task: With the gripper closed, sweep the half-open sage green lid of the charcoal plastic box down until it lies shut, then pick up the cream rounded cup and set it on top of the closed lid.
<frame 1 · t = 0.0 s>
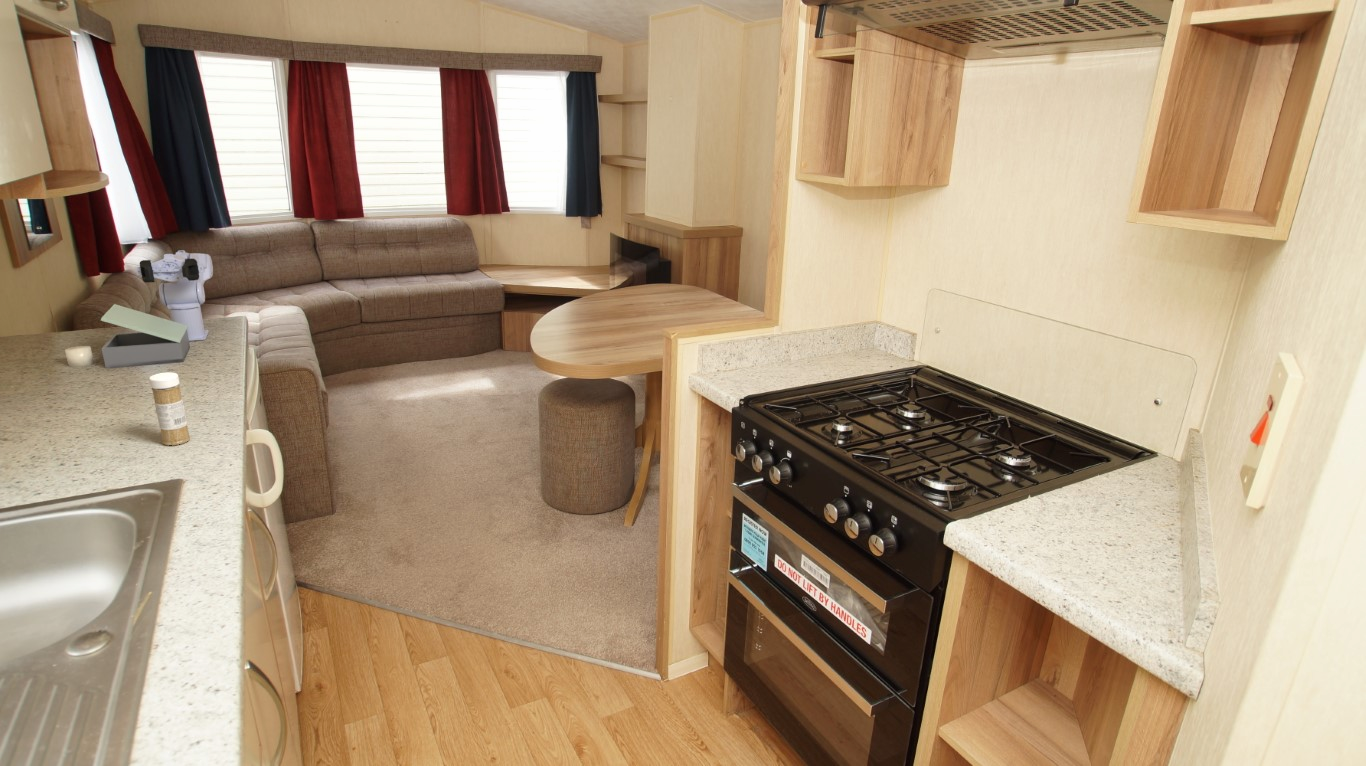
hand: (165, 273, 186), 22 cm above the worktop, fingers open, 7 cm apart
lid: (146, 323, 189), point 9 cm above the worktop, hinge at 25.0°
sprinkles bottle: (176, 442, 144), on the worktop
cream rounded cup: (81, 364, 185), on the worktop
box: (150, 357, 192), on the worktop
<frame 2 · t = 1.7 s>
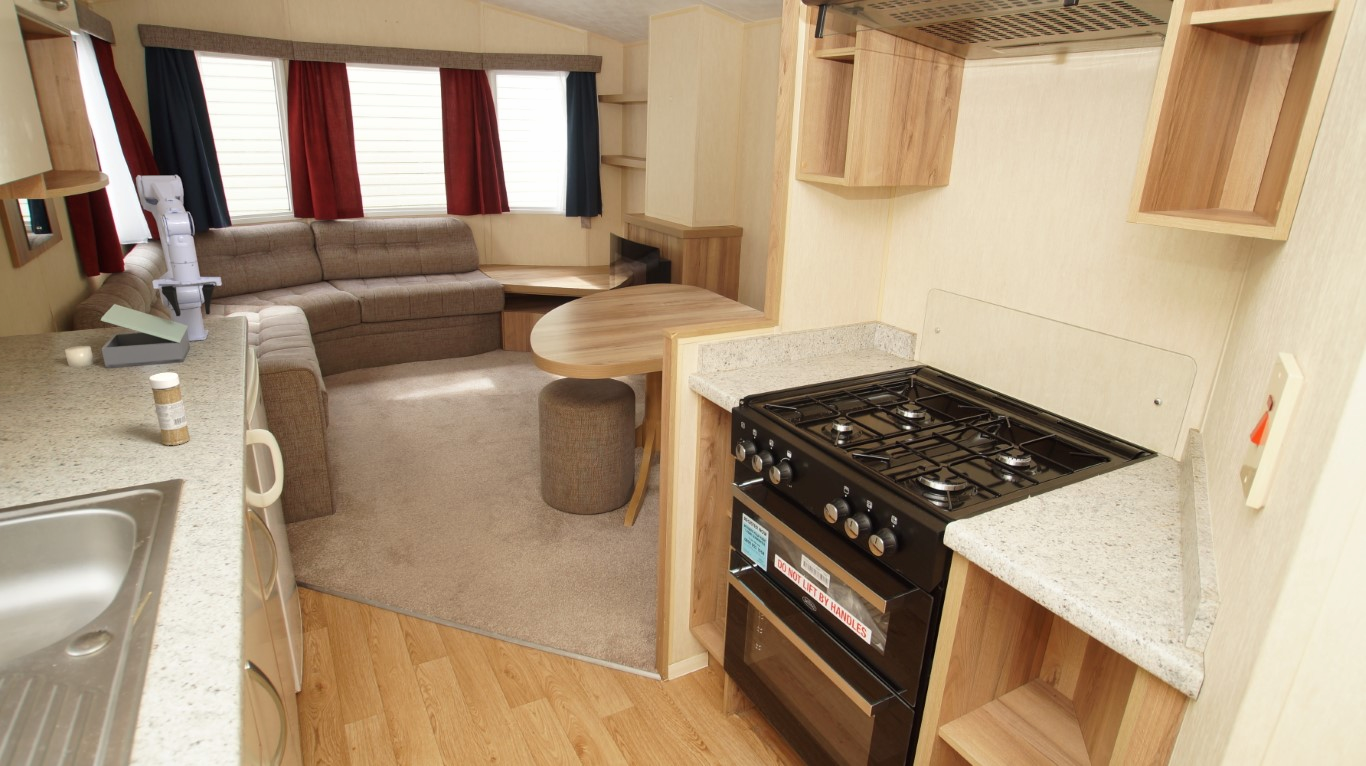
hand: (193, 314, 193), 10 cm above the worktop, fingers open, 6 cm apart
nothing on the worktop moved.
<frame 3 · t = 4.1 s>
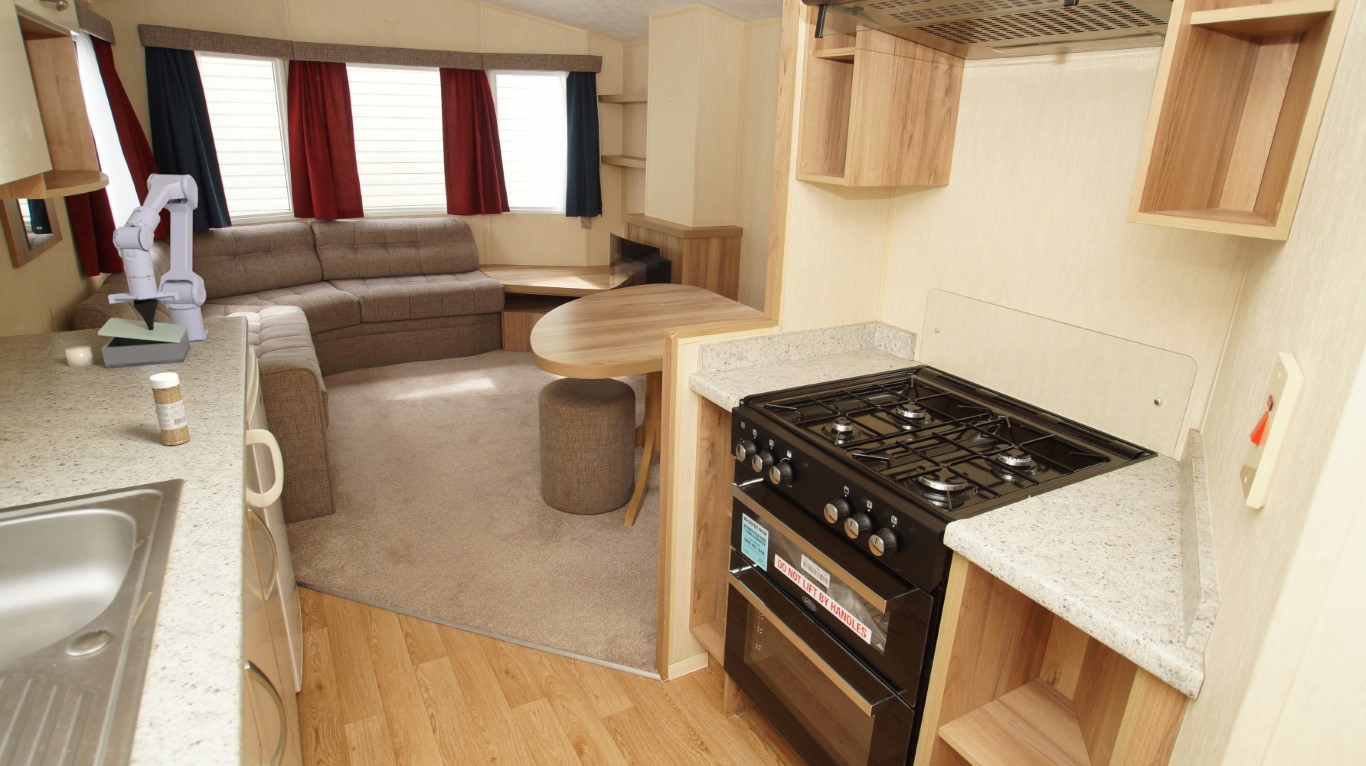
hand: (151, 329, 190), 7 cm above the worktop, fingers closed, pressing on lid
lid: (144, 330, 190), point 7 cm above the worktop, hinge at 12.1°, touching gripper
everything else where it was.
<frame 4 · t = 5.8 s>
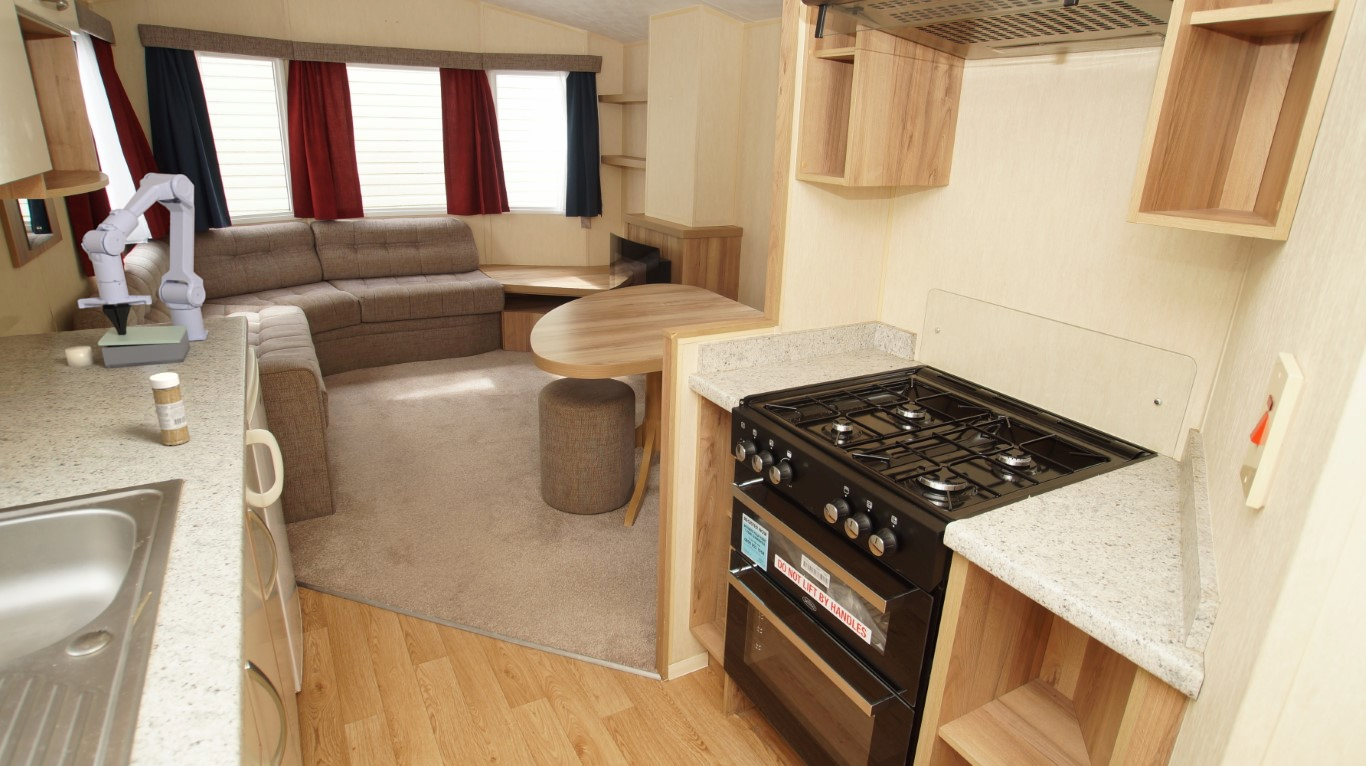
hand: (122, 334, 188), 7 cm above the worktop, fingers closed
lid: (144, 335, 190), point 6 cm above the worktop, hinge at 3.0°, touching gripper
everything else where it was.
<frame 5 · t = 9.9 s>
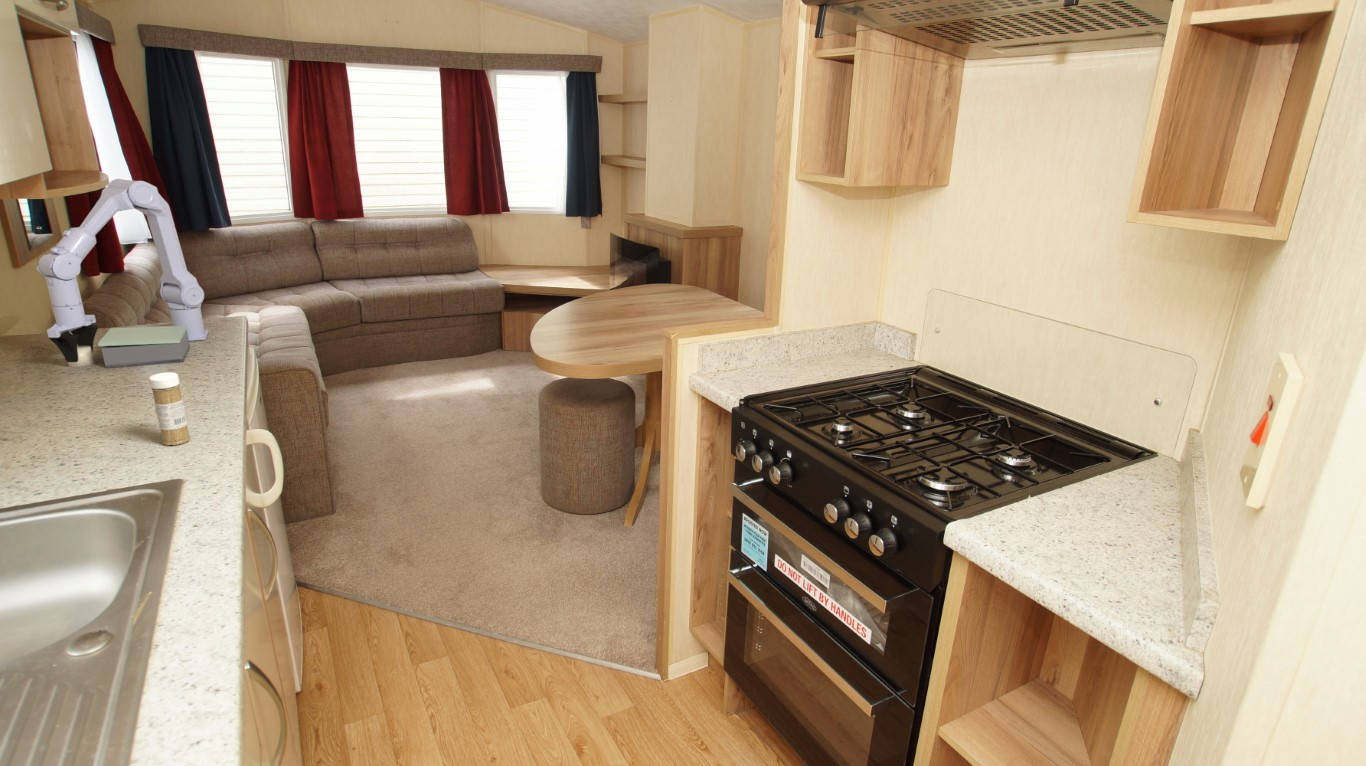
hand: (80, 358, 185), 1 cm above the worktop, fingers closed on cream rounded cup, 5 cm apart
lid: (144, 335, 190), point 6 cm above the worktop, hinge at 2.4°
cream rounded cup: (81, 363, 185), on the worktop, touching gripper
everything else where it was.
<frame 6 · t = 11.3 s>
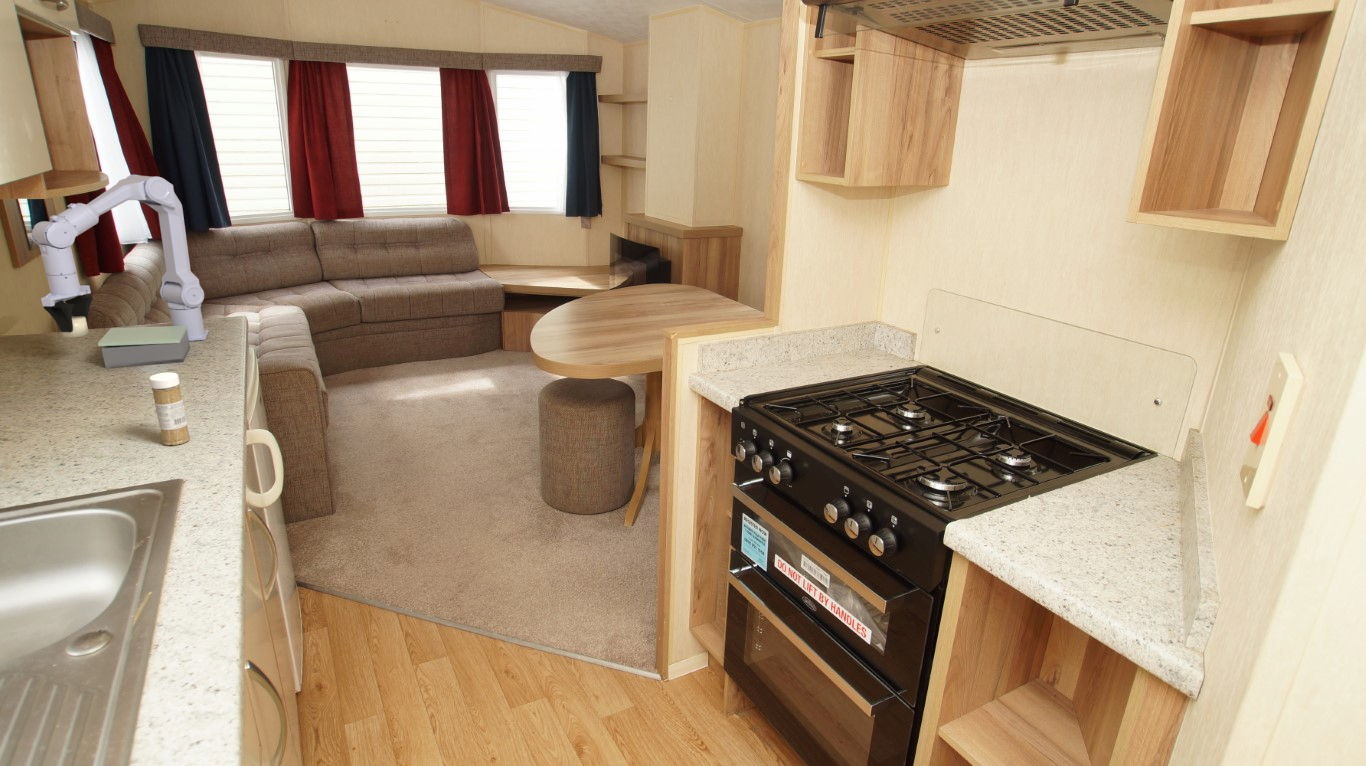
hand: (74, 328, 182), 9 cm above the worktop, fingers closed on cream rounded cup, 5 cm apart
cream rounded cup: (76, 334, 183), point 7 cm above the worktop, touching gripper
everything else where it was.
when the fingers open (9 cm above the worktop, at t = 12.9 s): cream rounded cup drops 1 cm, resting on lid.
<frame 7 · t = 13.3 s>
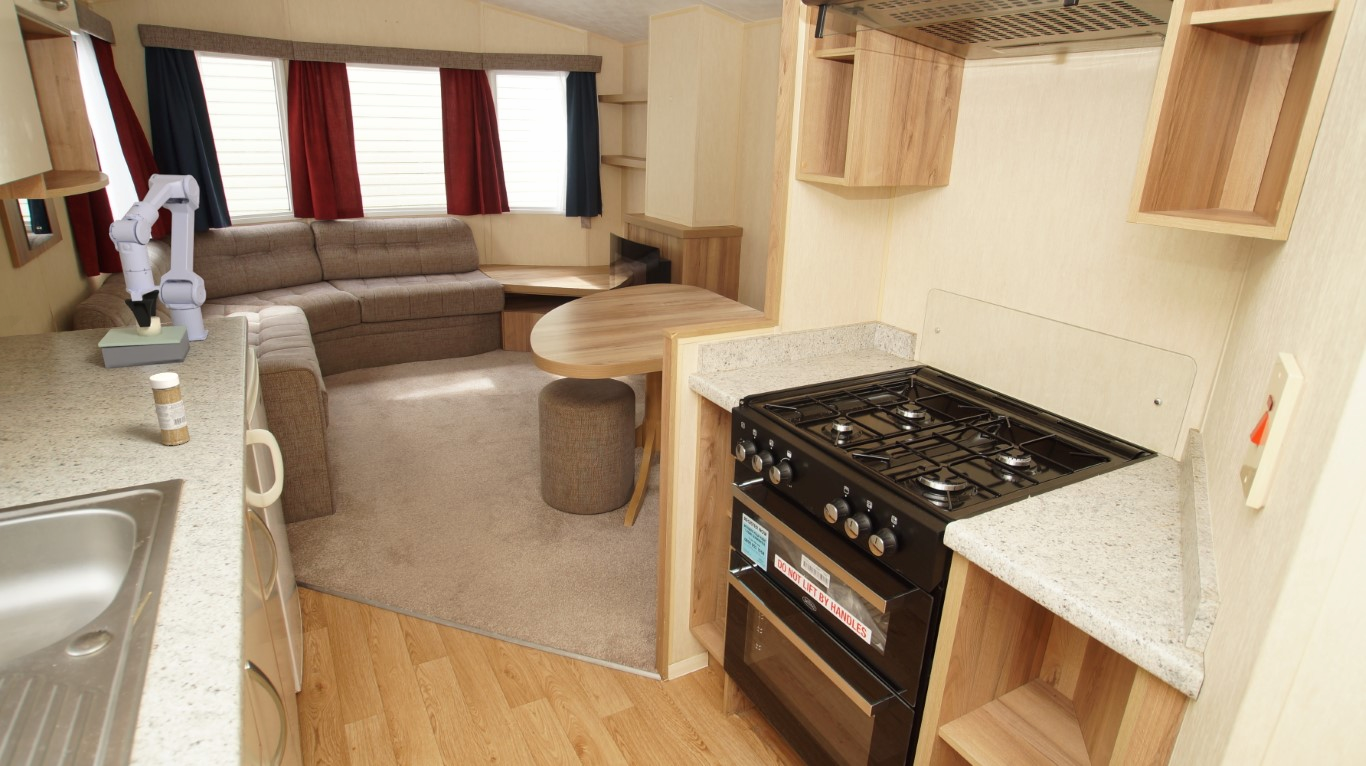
hand: (148, 323, 189), 9 cm above the worktop, fingers open, 7 cm apart
lid: (144, 335, 190), point 6 cm above the worktop, hinge at 1.8°, touching cream rounded cup
cream rounded cup: (150, 333, 190), point 6 cm above the worktop, touching lid
everything else where it was.
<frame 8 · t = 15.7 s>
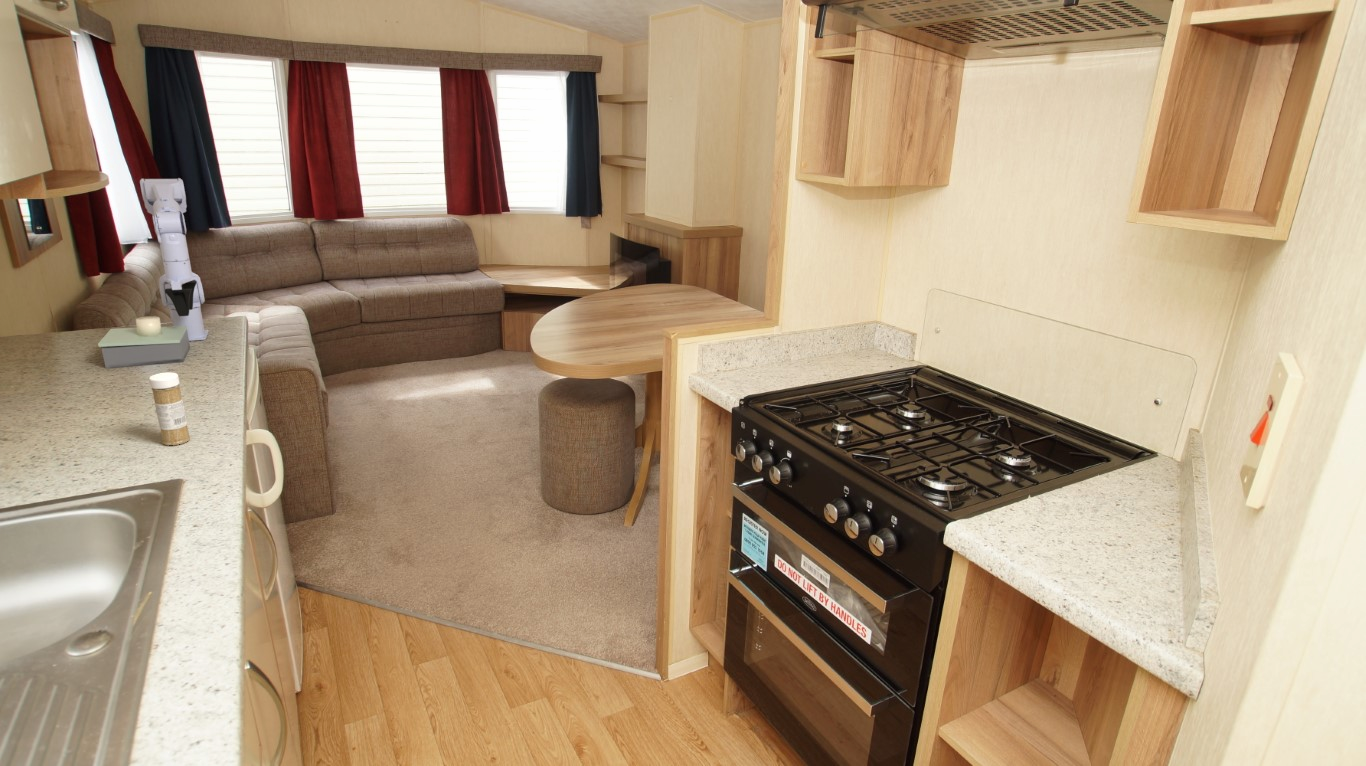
hand: (185, 312, 194), 10 cm above the worktop, fingers open, 7 cm apart
nothing on the worktop moved.
at the end: lid at +2° (first picture: +25°); cream rounded cup inside the target area on the box (1.0 cm from its centre), point 6.1 cm above the box's base; cream rounded cup tilted 2° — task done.
